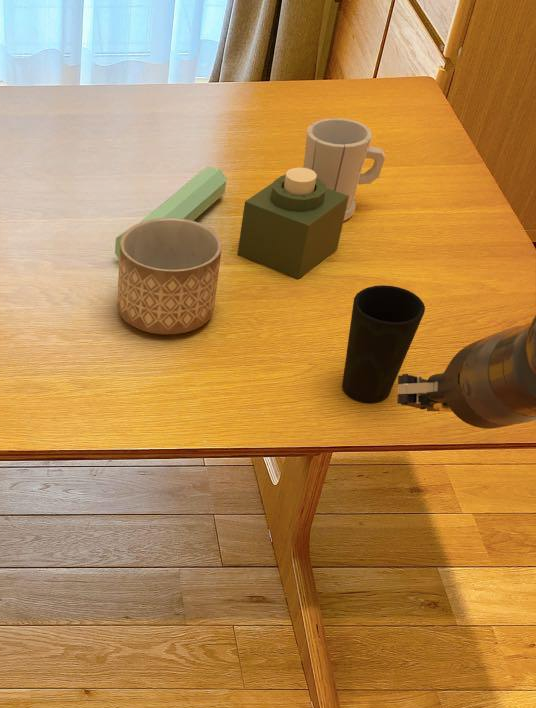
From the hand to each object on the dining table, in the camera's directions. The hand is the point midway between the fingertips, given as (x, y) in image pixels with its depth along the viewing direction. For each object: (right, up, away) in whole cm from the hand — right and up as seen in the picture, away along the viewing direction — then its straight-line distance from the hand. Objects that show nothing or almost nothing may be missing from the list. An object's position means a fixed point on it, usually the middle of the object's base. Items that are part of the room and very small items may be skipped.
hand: (435, 400), depth 98 cm
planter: (-20, +17, +37) cm, 45 cm away
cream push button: (-2, +34, +38) cm, 51 cm away
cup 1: (+7, +36, +53) cm, 64 cm away
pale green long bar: (-16, +32, +51) cm, 63 cm away
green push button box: (-1, +27, +45) cm, 53 cm away
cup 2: (+2, +5, +24) cm, 25 cm away
